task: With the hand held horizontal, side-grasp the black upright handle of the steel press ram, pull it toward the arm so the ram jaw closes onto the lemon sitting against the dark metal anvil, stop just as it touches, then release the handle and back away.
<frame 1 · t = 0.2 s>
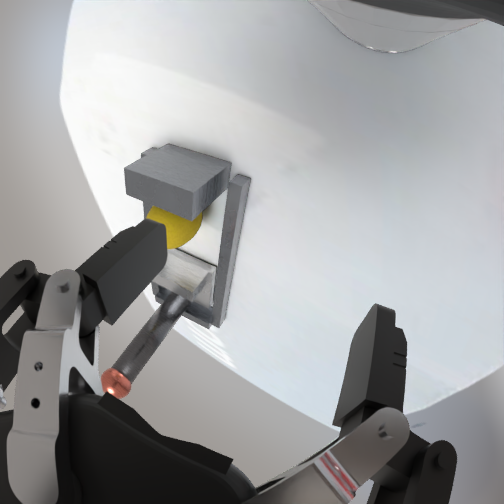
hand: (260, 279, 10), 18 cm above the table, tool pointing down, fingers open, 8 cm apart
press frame: (192, 237, 37), on the table
ram: (149, 327, 34), point 11 cm above the table, slide at 0.0 cm
lemon: (195, 201, 33), resting in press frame
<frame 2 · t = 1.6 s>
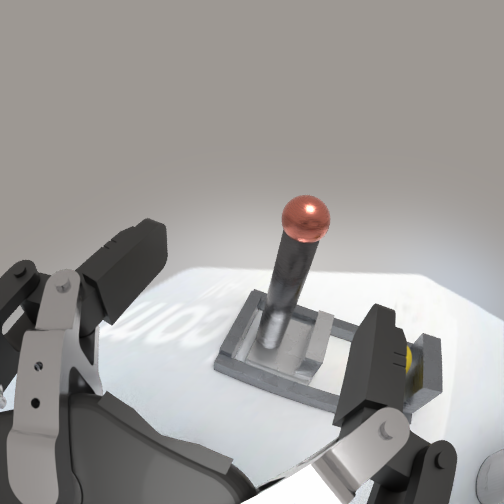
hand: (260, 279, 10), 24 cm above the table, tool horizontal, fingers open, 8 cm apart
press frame: (336, 367, 34), on the table
ram: (306, 296, 28), point 11 cm above the table, slide at 0.0 cm
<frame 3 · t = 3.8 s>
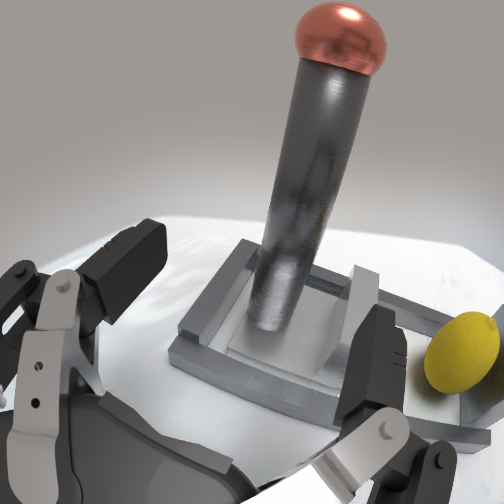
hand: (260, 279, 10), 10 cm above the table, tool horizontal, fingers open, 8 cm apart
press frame: (378, 364, 20), on the table
ram: (343, 216, 14), point 11 cm above the table, slide at 0.0 cm
lemon: (430, 381, 19), resting in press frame
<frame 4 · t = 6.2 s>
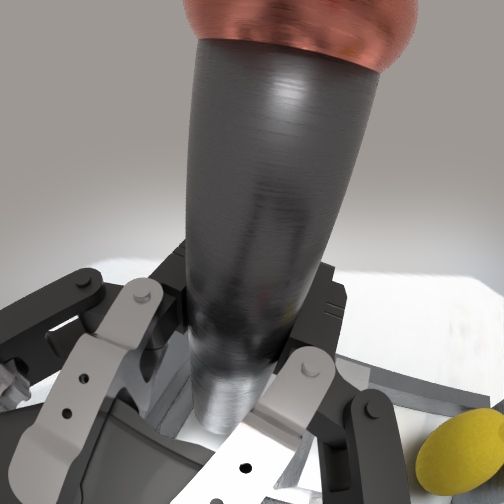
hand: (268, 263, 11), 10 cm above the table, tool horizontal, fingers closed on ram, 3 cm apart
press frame: (360, 460, 14), on the table
ram: (310, 341, 8), point 11 cm above the table, slide at 0.0 cm, touching gripper
lemon: (422, 470, 13), resting in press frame
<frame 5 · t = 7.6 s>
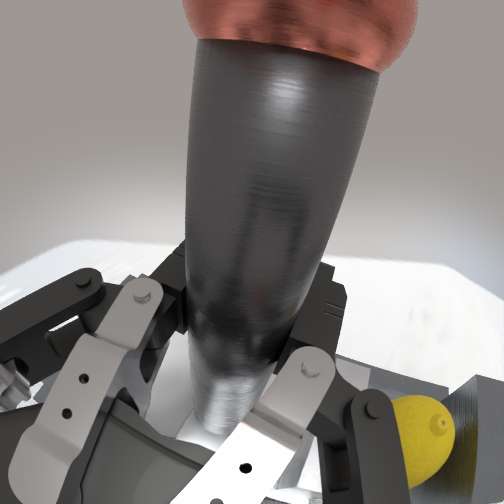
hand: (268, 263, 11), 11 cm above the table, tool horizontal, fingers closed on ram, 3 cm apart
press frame: (284, 440, 15), on the table
ram: (309, 342, 8), point 11 cm above the table, slide at 5.3 cm, touching gripper
lemon: (361, 462, 14), resting in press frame
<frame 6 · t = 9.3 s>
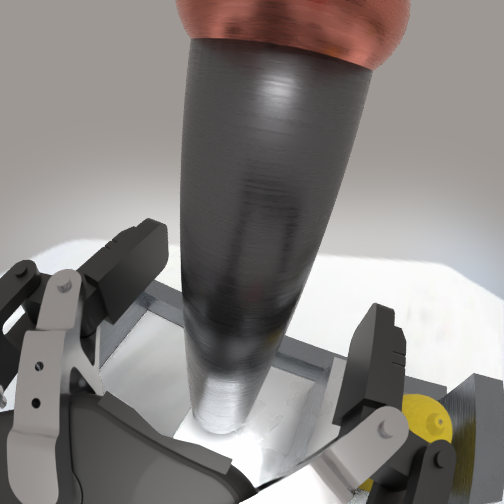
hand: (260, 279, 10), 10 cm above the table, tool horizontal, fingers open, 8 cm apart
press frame: (281, 439, 15), on the table
ram: (305, 340, 8), point 11 cm above the table, slide at 5.4 cm
lemon: (358, 461, 14), resting in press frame
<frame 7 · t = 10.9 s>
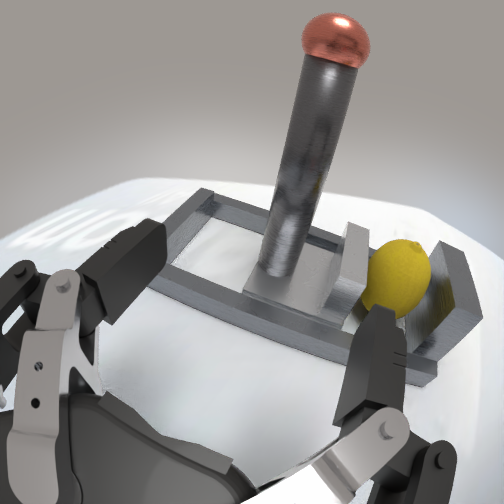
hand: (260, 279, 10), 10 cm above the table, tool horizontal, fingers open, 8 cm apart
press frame: (317, 291, 25), on the table
ram: (338, 174, 18), point 11 cm above the table, slide at 5.4 cm
lemon: (372, 313, 24), resting in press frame
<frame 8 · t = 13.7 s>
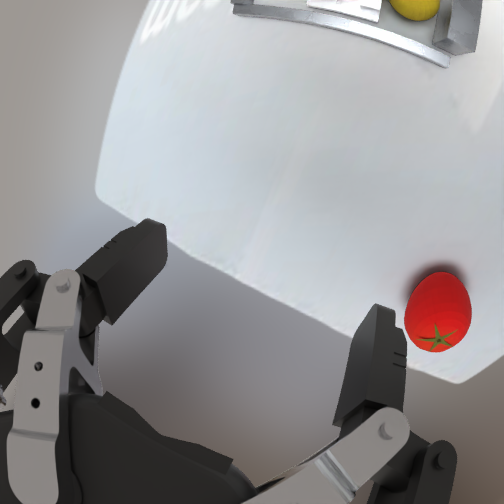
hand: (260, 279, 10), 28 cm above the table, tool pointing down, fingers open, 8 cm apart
tomato: (435, 287, 38), on the table
lemon: (408, 5, 19), resting in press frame
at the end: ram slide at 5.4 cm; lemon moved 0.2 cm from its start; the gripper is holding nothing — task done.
